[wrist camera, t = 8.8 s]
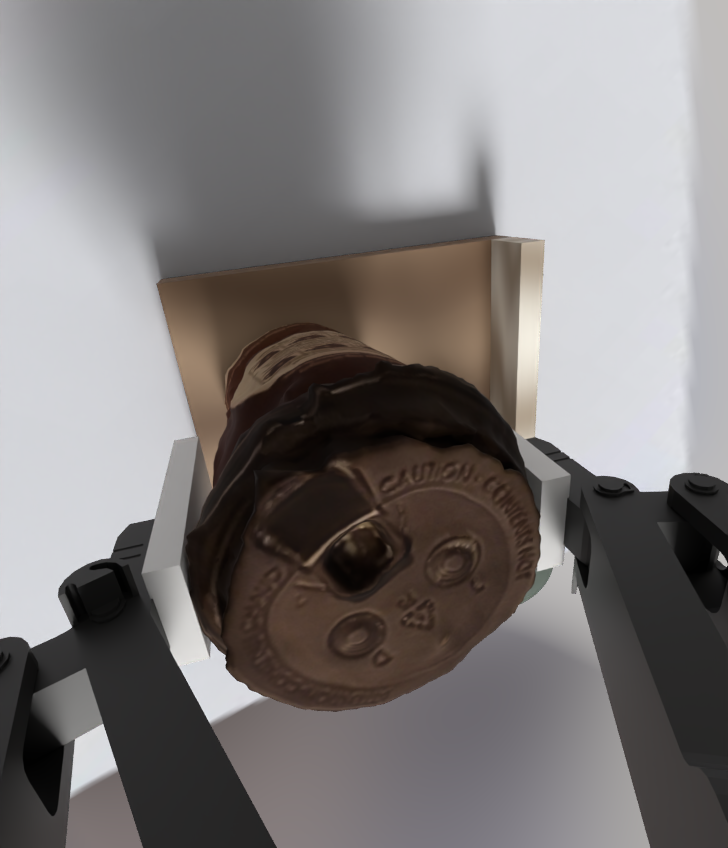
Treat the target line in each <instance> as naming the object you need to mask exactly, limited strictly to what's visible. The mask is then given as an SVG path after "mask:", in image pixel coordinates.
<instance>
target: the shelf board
mask: <svg viewBox="0 0 728 848" xmlns="http://www.w3.org/2000/svg"><path fill="white" fill-rule="evenodd" d="M544 243H545V240H538V239H528V238H518V237H507V236H497V235H495V236H488V237H480V238H472V239H465V240H457V241H449V242H442V243H434V244H426V245H419V246H411V247H403V248H396V249H388V250H380V251H373V252H365V253H358V254H350V255H342V256H335V257H327V258H319V259H312V260H304V261H296V262H289V263H281V264H273V265H266V266H258V267H250V268H243V269H235V270H227V271H220V272H212V273H204V274H197V275H189V276H181V277H174V278H166V279H161V280H160V281H159V282H158V283H157V287H158V291H159V295H160V299H161V302H162V306H163V310H164V314H165V317H166V321H167V325H168V329H169V332H170V336H171V340H172V344H173V347H174V351H175V355H176V359H177V362H178V366H179V370H180V374H181V377H182V381H183V385H184V389H185V392H186V396H187V400H188V404H189V407H190V411H191V415H192V419H193V422H194V426H195V430H196V434H197V436H198V437H199V440H200V444H201V448H202V452H203V455H204V459H205V463H206V467H207V471H208V474H209V478H210V482H211V486H212V489H213V463H214V458H215V454H216V452H217V449H218V443H219V440H220V438H221V436H222V434H223V432H224V430H225V429H226V426H227V416H226V413H227V408H226V406H225V394H226V386H225V375H226V373H227V370H228V368H229V367H231V365H232V364H233V362H235V360H236V359H237V358H238V356H239V355H240V353H241V351H242V349H243V348H244V347H245V346H246V345H248V344H249V343H251V342H253V341H254V340H256V339H257V338H259V337H260V336H262V335H264V334H265V333H267V332H268V331H270V330H273V329H276V328H278V327H281V326H285V325H288V324H294V323H305V322H310V323H315V324H319V325H322V326H325V327H328V328H331V329H333V330H336V331H338V332H341V333H343V334H345V335H346V336H349V337H351V338H353V339H356V340H358V341H360V342H362V343H364V344H366V345H367V346H370V347H372V348H374V349H376V350H378V351H380V352H382V353H384V354H386V355H389V356H391V357H393V358H395V359H396V360H398V361H400V362H402V363H404V364H406V365H409V364H417V363H419V364H421V365H423V366H434V367H438V368H439V369H440V370H444V371H447V372H450V373H452V374H454V375H456V376H457V377H460V378H463V379H464V380H465V381H466V382H468V383H471V384H473V385H474V386H475V387H476V388H477V389H478V391H480V392H481V393H482V394H483V395H485V396H486V397H487V398H488V399H489V400H490V402H491V403H492V404H493V406H494V407H495V408H496V410H497V411H498V412H499V413H500V414H501V416H502V417H503V419H504V420H505V421H506V422H507V423H508V424H509V425H510V426H511V428H512V429H513V430H514V431H515V432H517V433H518V434H519V435H520V436H522V437H523V438H524V439H528V438H533V437H535V423H536V403H537V383H538V363H539V343H540V323H541V303H542V283H543V263H544Z"/></svg>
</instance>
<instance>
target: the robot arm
mask: <svg viewBox="0 0 728 848" xmlns="http://www.w3.org/2000/svg"><path fill="white" fill-rule="evenodd" d="M512 430H513V429H512ZM513 432H514V434H515V436H516V438H517V444H518V447H519V451H520V454H521V456H522V458H523V460H524V463H525V470H526V475H527V480H528V483H529V486H530V488H531V489H532V492H533V495H534V501H535V505H536V507H537V509H538V511H539V512H540V515H541V518H540V525H539V528H538V530H539V533H540V535H541V544H540V551H541V555H540V559H539V561H538V564H537V566H538V567H537V568H536V569H535V570H536V571H541V570H545V569H549V568H553V567H556V566H560V565H563V561H564V549H565V546H566V547H567V548H568V549H569V550H570V551H571V552H572V553H573V554H574V555H575V559H574V569H573V580H572V593H573V594H576V590H577V587H578V588H579V591H580V595H581V598H582V602H583V605H584V609H585V613H586V617H587V620H588V624H589V627H590V631H591V635H592V638H593V642H594V645H595V649H596V652H597V656H598V660H599V663H600V667H601V671H602V674H603V678H604V682H605V685H606V688H607V692H608V695H609V700H610V703H611V706H612V710H613V714H614V718H615V721H616V725H617V728H618V732H619V735H620V739H621V743H622V746H623V750H624V754H625V757H626V761H627V765H628V768H629V772H630V775H631V779H632V783H633V786H634V790H635V793H636V797H637V801H638V804H639V808H640V812H641V815H642V819H643V822H644V826H645V830H646V833H647V837H648V840H649V844H650V848H728V566H727V567H725V566H724V565H723V564H722V563H721V562H719V561H718V560H717V559H718V555H719V551H720V552H721V553H722V554H723V555H724V557H725V558H726V560H727V563H728V484H727V483H725V482H724V481H721V480H720V479H718V478H715V477H712V476H709V475H707V474H700V473H682V474H678V475H675V476H674V477H672V478H671V479H670V484H669V490H668V491H665V492H640V491H639V490H638V489H637V488H636V487H635V486H634V485H633V484H632V483H630V482H628V481H626V480H623V479H620V478H616V477H610V476H595V475H593V474H592V473H591V472H589V471H588V470H587V469H585V468H584V467H582V466H581V465H580V464H578V463H577V462H576V461H574V460H573V459H570V458H569V456H567V455H566V454H565V453H563V452H561V450H559V449H558V448H556V447H555V446H554V445H552V444H551V443H549V442H546V441H544V440H541V439H538V438H535V437H533V438H528V439H524V438H523V437H522V436H520V435H519V434H518V433H517V432H515V431H514V430H513ZM211 490H212V486H211V482H210V478H209V474H208V471H207V467H206V463H205V459H204V455H203V452H202V448H201V444H200V440H199V437H198V436H197V437H191V438H186V439H181V440H175V441H174V444H173V448H172V452H171V456H170V460H169V464H168V468H167V472H166V476H165V480H164V484H163V488H162V492H161V496H160V501H159V505H158V509H157V513H156V517H155V519H152V520H148V521H143V522H138V523H133V524H129V526H128V527H127V528H126V529H125V530H124V531H123V532H122V533H121V534H120V535H119V536H118V538H117V541H116V544H115V546H114V549H113V553H112V555H111V558H109V559H101V560H98V561H95V562H92V563H89V564H87V565H85V566H83V567H81V568H80V569H78V570H76V571H75V572H73V573H72V574H71V575H70V576H69V577H67V578H66V579H65V580H64V582H63V583H62V585H61V586H60V588H59V592H58V598H59V600H60V602H61V604H62V606H63V608H64V610H65V613H66V615H67V617H68V619H69V621H70V623H71V625H72V628H71V629H70V630H68V631H66V632H65V633H63V634H61V635H59V636H57V637H55V638H53V639H51V640H48V641H46V642H44V643H42V644H40V645H37V646H35V647H33V648H30V646H29V645H28V643H27V642H26V641H25V640H23V639H22V638H19V637H7V638H3V639H0V848H65V845H66V834H67V822H68V811H69V799H70V788H71V777H72V765H73V754H74V742H75V739H76V738H78V737H79V736H81V735H83V734H85V733H87V732H89V731H90V730H92V729H94V728H96V727H98V726H99V725H101V724H104V727H105V730H106V733H107V737H108V740H109V743H110V746H111V749H112V752H113V755H114V758H115V761H116V765H117V768H118V771H119V774H120V777H121V780H122V783H123V786H124V789H125V792H126V796H127V798H128V802H129V805H130V808H131V811H132V814H133V817H134V821H135V824H136V827H137V830H138V833H139V836H140V839H141V842H142V846H143V848H277V847H276V845H275V844H274V842H273V840H272V838H271V836H270V834H269V833H268V831H267V829H266V827H265V825H264V823H263V821H262V820H261V818H260V816H259V814H258V812H257V810H256V808H255V807H254V805H253V803H252V801H251V799H250V798H249V795H248V794H247V792H246V790H245V788H244V786H243V784H242V783H241V781H240V779H239V777H238V775H237V773H236V771H235V770H234V768H233V766H232V764H231V762H230V760H229V759H228V757H227V755H226V753H225V751H224V749H223V748H222V746H221V744H220V742H219V740H218V738H217V736H216V735H215V733H214V731H213V729H212V727H211V725H210V723H209V722H208V720H207V718H206V716H205V714H204V712H203V710H202V709H201V707H200V705H199V703H198V701H197V699H196V698H195V696H194V694H193V692H192V690H191V688H190V686H189V685H188V683H187V681H186V679H185V677H184V675H183V674H182V672H181V670H180V668H179V666H183V665H187V664H191V663H194V662H198V661H202V660H206V659H209V658H210V644H211V641H210V639H209V638H208V637H207V636H206V635H204V633H203V632H202V629H201V626H200V624H199V621H198V617H197V614H196V611H195V609H194V606H193V603H192V601H191V598H190V594H189V590H190V589H191V584H190V576H189V561H188V557H187V554H186V549H185V546H186V544H187V538H186V536H187V535H188V534H189V533H190V532H191V531H192V530H193V529H195V528H196V525H197V523H198V521H199V519H200V515H201V511H202V507H203V505H204V503H205V501H206V498H207V497H208V495H209V493H210V491H211Z"/></svg>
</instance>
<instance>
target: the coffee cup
mask: <svg viewBox="0 0 728 848" xmlns="http://www.w3.org/2000/svg"><path fill="white" fill-rule="evenodd" d="M225 386H226V394H225V406H226V408H227V413H226V416H227V426H226V429H225V430H224V432H223V434H222V436H221V438H220V440H219V443H218V449H217V452H216V454H215V458H214V463H213V489H212V490H211V491H210V493H209V495H208V497H207V498H206V501H205V503H204V505H203V507H202V511H201V515H200V519H199V521H198V523H197V525H196V528H195V529H193V530H192V531H191V532H190V533H189V534H188V535H187V536H186V538H187V544H186V546H185V549H186V554H187V557H188V561H189V576H190V584H191V589H190V590H189V594H190V598H191V601H192V603H193V606H194V609H195V611H196V614H197V617H198V621H199V624H200V626H201V629H202V632H203V633H204V635H206V636H207V637H208V638H209V639H210V641H211V642H212V643H213V644H214V645H215V646H216V647H217V649H218V650H219V651H221V652H222V653H223V654H225V655H226V657H225V659H226V662H227V663H226V669H227V670H228V671H229V673H230V674H231V675H232V676H233V677H234V678H235V679H236V680H237V681H239V682H242V683H244V684H246V685H247V687H248V688H249V690H251V691H254V692H257V693H259V694H261V695H262V696H266V697H270V698H272V699H274V700H276V701H279V702H282V703H285V704H289V705H292V706H294V707H297V708H301V709H311V710H317V711H333V712H337V711H342V710H350V709H358V708H361V707H371V706H376V705H381V704H385V703H387V702H390V701H392V700H394V699H396V698H398V697H400V696H401V695H403V694H407V693H410V692H411V691H413V690H416V689H418V688H420V687H422V686H423V685H425V684H427V683H428V682H430V681H433V680H435V679H437V678H438V677H440V676H442V675H444V674H447V673H448V672H450V671H451V670H453V669H454V668H455V666H456V665H457V664H458V663H459V662H461V661H462V660H463V659H464V658H465V657H466V655H467V654H468V653H469V652H470V650H471V649H472V648H473V647H474V646H475V645H477V644H478V643H479V642H480V641H482V640H483V639H484V638H486V637H487V636H488V635H489V634H491V633H492V632H493V631H495V630H496V629H497V628H498V627H499V626H500V625H501V624H502V623H503V622H505V621H506V620H507V619H508V618H509V617H510V616H511V615H512V614H513V613H515V611H516V609H517V607H518V605H519V604H521V602H522V601H523V600H524V597H525V595H526V593H527V592H528V591H529V590H530V589H531V588H532V586H533V585H534V582H535V577H536V572H535V569H536V568H537V567H538V566H537V564H538V561H539V559H540V555H541V551H540V544H541V535H540V533H539V530H538V528H539V525H540V518H541V515H540V512H539V511H538V509H537V507H536V505H535V501H534V495H533V492H532V489H531V488H530V486H529V483H528V480H527V475H526V470H525V463H524V460H523V458H522V456H521V454H520V451H519V447H518V444H517V438H516V436H515V434H514V432H513V430H512V428H511V426H510V425H509V424H508V423H507V422H506V421H505V420H504V419H503V417H502V416H501V414H500V413H499V412H498V411H497V410H496V408H495V407H494V406H493V404H492V403H491V402H490V400H489V399H488V398H487V397H486V396H485V395H483V394H482V393H481V392H480V391H478V389H477V388H476V387H475V386H474V385H473V384H471V383H468V382H466V381H465V380H464V379H463V378H460V377H457V376H456V375H454V374H452V373H450V372H447V371H444V370H440V369H439V368H438V367H434V366H423V365H421V364H419V363H417V364H409V365H406V364H404V363H402V362H400V361H398V360H396V359H395V358H393V357H391V356H389V355H386V354H384V353H382V352H380V351H378V350H376V349H374V348H372V347H370V346H367V345H366V344H364V343H362V342H360V341H358V340H356V339H353V338H351V337H349V336H346V335H345V334H343V333H341V332H338V331H336V330H333V329H331V328H328V327H325V326H322V325H319V324H315V323H310V322H305V323H294V324H288V325H285V326H281V327H278V328H276V329H273V330H270V331H268V332H267V333H265V334H264V335H262V336H260V337H259V338H257V339H256V340H254V341H253V342H251V343H249V344H248V345H246V346H245V347H244V348H243V349H242V351H241V353H240V355H239V356H238V358H237V359H236V360H235V362H233V364H232V365H231V367H229V368H228V370H227V373H226V375H225Z"/></svg>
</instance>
